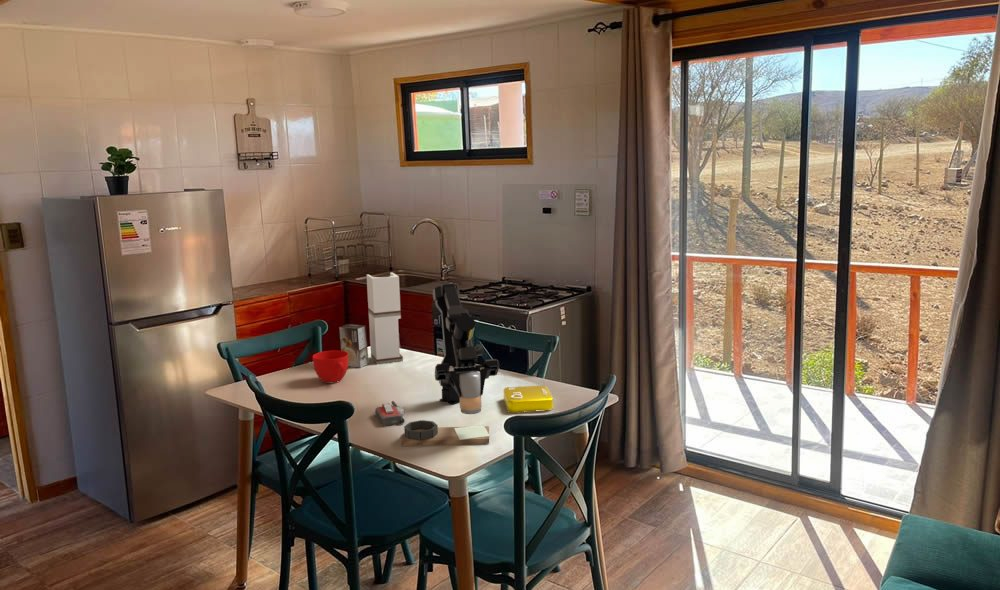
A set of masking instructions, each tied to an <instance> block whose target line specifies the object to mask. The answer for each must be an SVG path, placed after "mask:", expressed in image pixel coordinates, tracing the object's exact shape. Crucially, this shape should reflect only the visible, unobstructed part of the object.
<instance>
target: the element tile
mask: <svg viewBox="0 0 1000 590" xmlns="http://www.w3.org/2000/svg"><path fill="white" fill-rule="evenodd" d="M503 402H504V405H505V408H506V410H507V412H508V411H509V412H508V413H510V412H512V413H511V414H516V413H515V412H523V413H525V412H524V411H536V410H549V409H552V408H553V409H554V397H553V396H552V393H551V391H550V390H549V388H548V387H547V386H546V385H527V386H514V387H513V386H511V387H505V388H504V389H503Z"/></svg>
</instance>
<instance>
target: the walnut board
mask: <svg viewBox="0 0 1000 590" xmlns="http://www.w3.org/2000/svg"><path fill="white" fill-rule="evenodd" d="M461 427H462V426H449V427H448V426H445V427H444V426H443V427H442V426H441V427H439V426H438V434H437V435H436V436H435V437H433V438H430V439H425V440H413V439H408V438H407V437H406V436H405V432H403V436H402V440H401V445H402V447H410V446H413V447H414V446H419V447H420V446H446V445H445V444H448V445H449V446H451V445H450V444H456V445H484V444H483V443H489V444H490V437H482V438H473V439H464V440H459V438H458V436H457V434H456V432H455V430H454V428H461ZM484 427H485V428H486V430H487V432H488V433H489V434H490V426H489V425H484ZM424 430H428V429H418V430H414V431H424ZM440 444H441V445H440Z"/></svg>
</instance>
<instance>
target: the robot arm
mask: <svg viewBox="0 0 1000 590" xmlns="http://www.w3.org/2000/svg"><path fill="white" fill-rule="evenodd" d="M460 294H461V293H460V287H459V286H458V285H457V283H455V282H452V283H451V282H450V283H449V282H448V283H443V284H440V285H439V286H436V287H434V288H433V290H432V298H433V301H434V302H435V307H436V309H438V311H439V312H440V316H441V317H440V318H441V327H442V329H441V330H442V340H443V341H442V342H443V351H444V355H443V358H442V360H441V363H437V364H436V365H435V368H434V380H435V381H437V382H438V383H439V386H440V387H441V388H442V389H441V398H439V401H440V402H443V403H445V404H450V405H455V404H458V403H460V397H461V390H460V376H459V375H460V374H461V373H463V372H478V373H480V387H481V396H483V394H484V388H485V384H486V383H485V381H486V379H487V380H488V379H489V378H490V377H493V376H497V375H498V373H499V369H500V362H499V360H498V359H497V358H494V359H492V358H491V359H485V360H484V363H483V364H477V362H478V357H479V356H483V355H484V348H483V344H482V343H480V344H475V346H473V341H472V338H473V336H474V331H475V329H476V328H475V327H476V321H475V319H474V318H473V317H472V316H471V315H470V314H469V311H468V309H466V308H465V307H463V305H462V303H461V302H462V301H461V300H460V297H461V296H460Z"/></svg>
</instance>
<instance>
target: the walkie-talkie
mask: <svg viewBox="0 0 1000 590" xmlns="http://www.w3.org/2000/svg"><path fill="white" fill-rule="evenodd" d="M374 414H375V417H376V418H377V420H378V421H379V423H380V424H381V426H383V427H389V426H396V425H401V423H402V424H404V423H405V422H406V421H405V418H404V416H405V410H404V408H403V407H402V406H401V405H399V406H398V404H397V403H396V402H395V401H394V400H392V401H391V404H390V403H389V402H388V403H382V404H381V406H377V407H375V412H374Z"/></svg>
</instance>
